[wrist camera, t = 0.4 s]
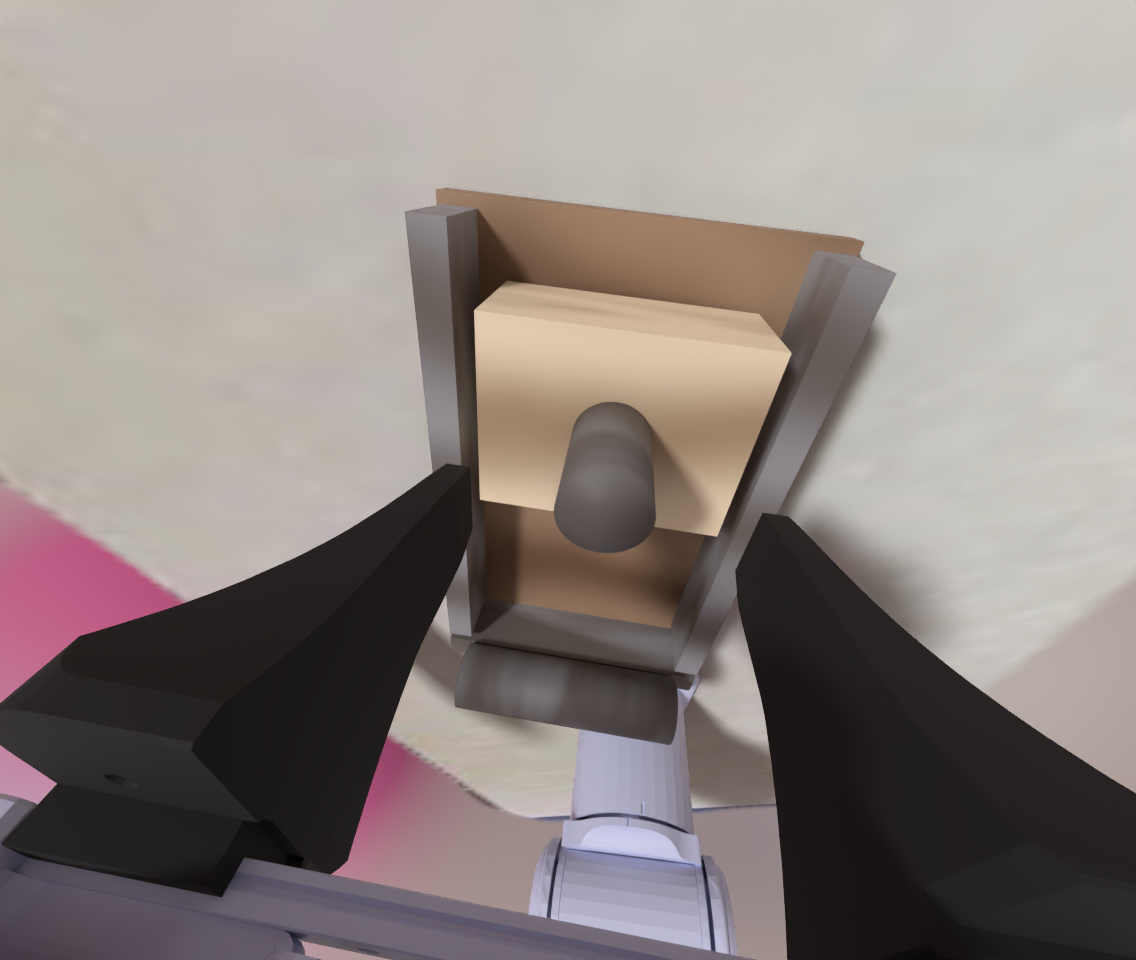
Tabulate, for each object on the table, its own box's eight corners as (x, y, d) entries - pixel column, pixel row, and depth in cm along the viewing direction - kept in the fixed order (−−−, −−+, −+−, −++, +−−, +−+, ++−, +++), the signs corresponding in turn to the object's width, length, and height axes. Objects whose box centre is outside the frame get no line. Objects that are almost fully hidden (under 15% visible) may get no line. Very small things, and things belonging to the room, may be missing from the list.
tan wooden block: (703, 475, 19) (737, 628, 13) (505, 445, 20) (442, 579, 13) (759, 313, 15) (847, 421, 9) (507, 280, 16) (417, 360, 9)
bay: (682, 639, 28) (694, 761, 22) (470, 603, 29) (429, 713, 23) (852, 237, 15) (992, 284, 9) (446, 188, 15) (330, 201, 10)
